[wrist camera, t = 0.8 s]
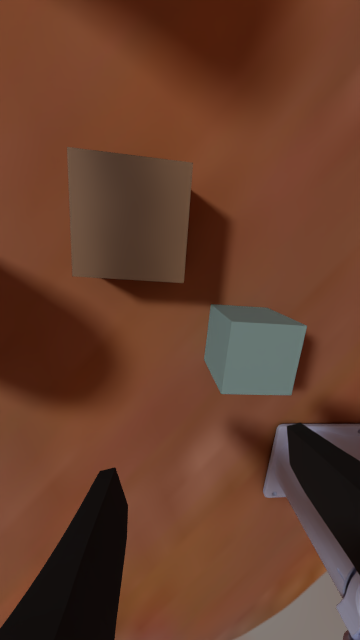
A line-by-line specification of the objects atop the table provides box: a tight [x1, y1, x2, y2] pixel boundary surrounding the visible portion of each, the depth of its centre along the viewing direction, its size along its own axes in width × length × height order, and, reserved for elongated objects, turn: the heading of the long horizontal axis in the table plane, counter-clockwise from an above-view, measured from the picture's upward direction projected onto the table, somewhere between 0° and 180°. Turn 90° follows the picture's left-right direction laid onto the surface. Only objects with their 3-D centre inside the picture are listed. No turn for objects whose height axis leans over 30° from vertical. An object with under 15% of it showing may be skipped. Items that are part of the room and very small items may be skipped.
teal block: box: [204, 304, 307, 395], centre depth 16 cm, size 4×4×5 cm
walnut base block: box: [67, 147, 193, 283], centre depth 14 cm, size 6×6×4 cm
